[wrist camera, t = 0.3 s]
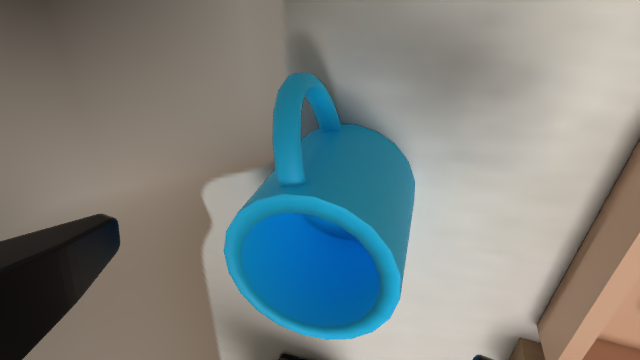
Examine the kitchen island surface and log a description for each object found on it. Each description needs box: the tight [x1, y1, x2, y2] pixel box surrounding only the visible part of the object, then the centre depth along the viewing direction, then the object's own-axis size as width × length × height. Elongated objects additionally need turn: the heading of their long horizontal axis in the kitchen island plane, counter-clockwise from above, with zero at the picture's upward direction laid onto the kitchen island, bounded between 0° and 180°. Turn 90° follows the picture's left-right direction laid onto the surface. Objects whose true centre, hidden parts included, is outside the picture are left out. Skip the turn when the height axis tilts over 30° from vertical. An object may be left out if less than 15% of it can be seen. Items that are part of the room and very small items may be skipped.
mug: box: [224, 72, 415, 340], centre depth 19 cm, size 12×8×8 cm
